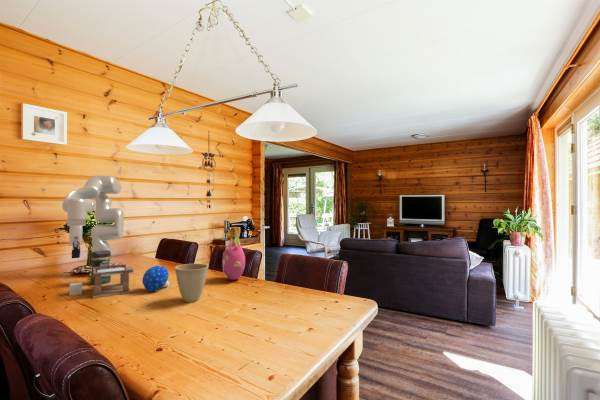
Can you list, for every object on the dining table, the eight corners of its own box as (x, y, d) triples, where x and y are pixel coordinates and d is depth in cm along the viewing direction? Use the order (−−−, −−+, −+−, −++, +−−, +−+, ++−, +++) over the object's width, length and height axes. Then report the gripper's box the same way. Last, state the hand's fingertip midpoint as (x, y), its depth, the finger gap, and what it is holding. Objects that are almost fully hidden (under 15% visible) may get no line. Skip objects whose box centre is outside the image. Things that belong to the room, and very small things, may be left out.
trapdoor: (97, 272, 162) (97, 269, 162) (131, 268, 171) (131, 265, 171) (97, 277, 152) (98, 273, 152) (133, 273, 161) (133, 270, 161)
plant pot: (197, 306, 138) (197, 270, 138) (168, 303, 141) (168, 269, 141) (213, 296, 153) (213, 264, 153) (186, 294, 156) (186, 262, 156)
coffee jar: (94, 285, 169) (95, 252, 169) (88, 283, 173) (88, 251, 173) (113, 282, 177) (113, 250, 177) (106, 280, 182) (106, 248, 182)
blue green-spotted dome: (181, 271, 170) (162, 259, 160) (173, 296, 162) (152, 284, 151) (162, 274, 175) (142, 262, 165) (153, 298, 166) (131, 287, 156)
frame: (92, 288, 164) (92, 266, 164) (126, 284, 173) (126, 263, 173) (93, 298, 148) (93, 274, 148) (130, 292, 157) (130, 270, 157)
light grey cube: (70, 293, 156) (70, 283, 156) (82, 291, 159) (82, 282, 159) (69, 295, 152) (69, 285, 152) (82, 294, 154) (82, 284, 154)
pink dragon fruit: (219, 277, 190) (219, 229, 190) (240, 275, 195) (241, 228, 195) (225, 284, 173) (225, 231, 174) (248, 282, 179) (248, 230, 179)
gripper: (68, 222, 160) (67, 255, 160) (66, 223, 146) (65, 259, 145) (85, 221, 164) (85, 253, 164) (85, 223, 150) (84, 258, 150)
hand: (76, 256), depth 155 cm, fingers open, 9 cm apart
